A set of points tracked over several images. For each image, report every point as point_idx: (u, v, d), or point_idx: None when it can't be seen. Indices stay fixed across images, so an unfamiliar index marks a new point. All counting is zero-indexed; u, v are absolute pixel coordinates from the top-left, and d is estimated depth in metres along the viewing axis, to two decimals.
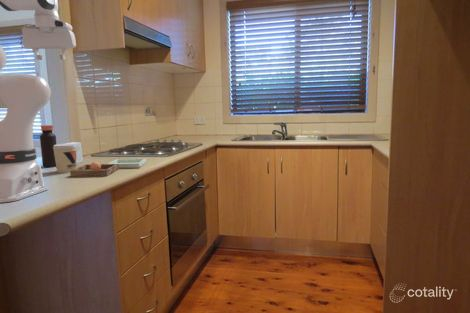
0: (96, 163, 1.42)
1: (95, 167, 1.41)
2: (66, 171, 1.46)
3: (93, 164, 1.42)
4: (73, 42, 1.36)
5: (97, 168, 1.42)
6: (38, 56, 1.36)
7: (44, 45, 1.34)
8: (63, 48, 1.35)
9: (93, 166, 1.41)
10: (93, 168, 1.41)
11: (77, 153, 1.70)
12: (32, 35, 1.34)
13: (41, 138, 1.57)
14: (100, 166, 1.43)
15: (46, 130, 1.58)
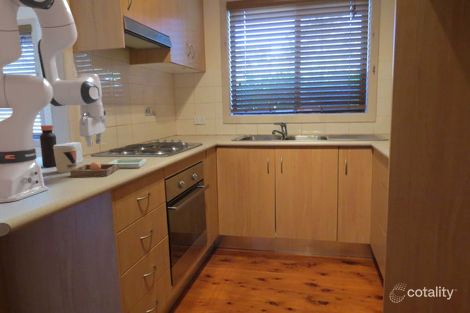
0: (96, 163, 1.42)
1: (95, 167, 1.41)
2: (66, 171, 1.46)
3: (93, 164, 1.42)
4: None
5: (97, 168, 1.42)
6: (92, 143, 1.38)
7: (96, 132, 1.40)
8: (101, 133, 1.48)
9: (93, 166, 1.41)
10: (93, 168, 1.41)
11: (77, 153, 1.70)
12: (91, 123, 1.35)
13: (41, 138, 1.57)
14: (100, 166, 1.43)
15: (46, 130, 1.58)
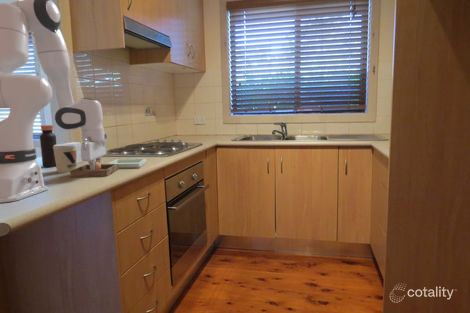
0: (96, 163, 1.42)
1: None
2: (66, 171, 1.46)
3: None
4: None
5: (97, 168, 1.42)
6: (95, 166, 1.41)
7: (97, 156, 1.42)
8: (100, 157, 1.47)
9: None
10: None
11: (77, 153, 1.70)
12: (92, 148, 1.37)
13: (41, 138, 1.57)
14: (100, 166, 1.43)
15: (46, 130, 1.58)
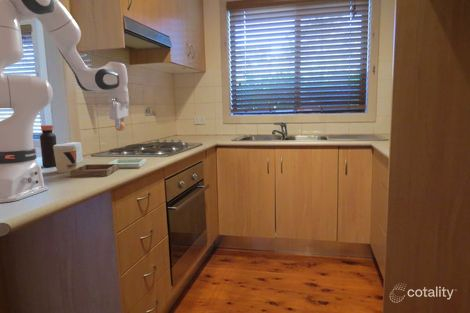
0: (121, 123, 1.55)
1: None
2: (66, 171, 1.46)
3: None
4: None
5: (122, 127, 1.55)
6: (120, 125, 1.54)
7: (122, 116, 1.55)
8: (124, 118, 1.60)
9: None
10: None
11: (77, 153, 1.70)
12: (119, 108, 1.49)
13: (41, 138, 1.57)
14: (124, 126, 1.56)
15: (46, 130, 1.58)
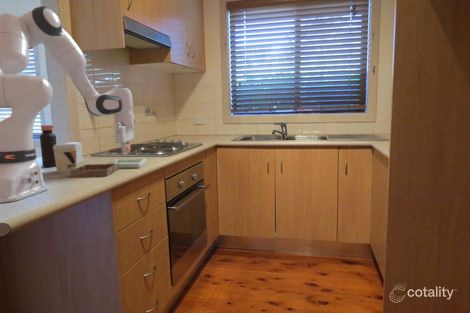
0: (127, 145, 1.59)
1: None
2: (66, 171, 1.46)
3: None
4: None
5: (128, 150, 1.59)
6: (126, 148, 1.57)
7: (128, 139, 1.58)
8: (129, 140, 1.64)
9: None
10: None
11: (77, 153, 1.70)
12: (124, 131, 1.53)
13: (41, 138, 1.57)
14: (130, 148, 1.60)
15: (46, 130, 1.58)
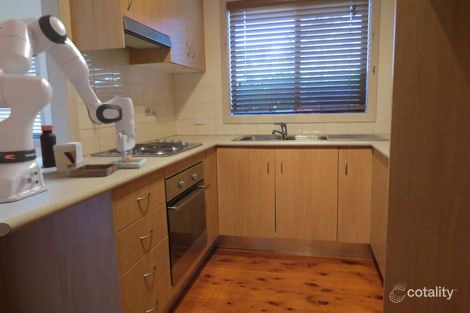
0: (128, 156, 1.60)
1: (127, 159, 1.59)
2: (66, 171, 1.46)
3: None
4: None
5: (129, 161, 1.59)
6: (126, 157, 1.56)
7: (129, 148, 1.59)
8: (131, 148, 1.66)
9: (126, 159, 1.59)
10: (125, 160, 1.59)
11: (77, 153, 1.70)
12: (125, 140, 1.54)
13: (41, 138, 1.57)
14: (131, 159, 1.61)
15: (46, 130, 1.58)
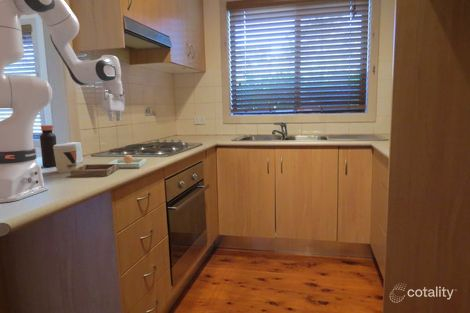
0: None
1: (128, 157, 1.61)
2: (66, 171, 1.46)
3: (127, 155, 1.62)
4: None
5: (130, 158, 1.61)
6: (113, 118, 1.52)
7: (117, 109, 1.55)
8: (120, 112, 1.62)
9: (127, 156, 1.61)
10: (127, 157, 1.60)
11: (77, 153, 1.70)
12: (112, 99, 1.50)
13: (41, 138, 1.57)
14: (132, 159, 1.62)
15: (46, 130, 1.58)
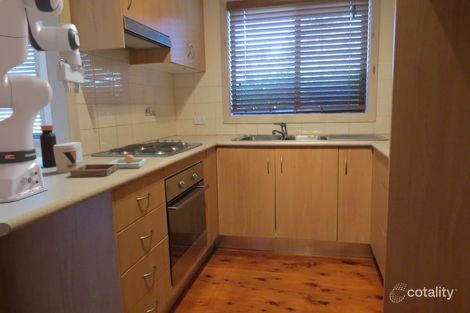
0: None
1: (130, 155, 1.63)
2: (66, 171, 1.46)
3: None
4: None
5: (131, 156, 1.63)
6: (70, 89, 1.47)
7: (74, 80, 1.50)
8: (79, 84, 1.57)
9: None
10: (128, 155, 1.63)
11: (77, 153, 1.70)
12: (68, 70, 1.45)
13: (41, 138, 1.57)
14: (133, 158, 1.64)
15: (46, 130, 1.58)
